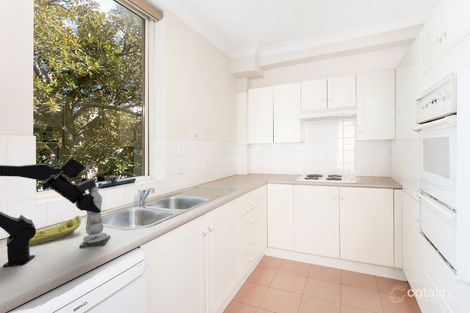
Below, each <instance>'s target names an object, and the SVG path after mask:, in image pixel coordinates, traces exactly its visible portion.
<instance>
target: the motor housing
mask: <svg viewBox="0 0 470 313" xmlns="http://www.w3.org/2000/svg"><path fill="white" fill-rule="evenodd" d="M110 238H111V235H110V234H107V233H106V232H101V233H99V234H95V235H88V234H87V235H86V236H84V237H83V240H82V242H81V243H80V244H79V249H83V248H92V247H102V246H105V245H106V244H107V242H108V241H109V239H110Z"/></svg>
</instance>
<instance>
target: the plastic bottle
mask: <svg viewBox="0 0 470 313" xmlns="http://www.w3.org/2000/svg"><path fill="white" fill-rule="evenodd" d="M87 191H88V193H87V194H90V195H92V196H93V197H94V199H93V203H94V204H95V205H96V206H97V207H98V208H99V210H100V211H101V212H100V213H95V212H90V211H86V224H85V232H86V234H87V236H88V235H95V234H99V233H103V231H104V223H103V218H102V203H103V197H102V194H100V193H99V186H97V185H96V186H95V187H92V188H90V189H88V190H87Z"/></svg>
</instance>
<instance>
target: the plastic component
mask: <svg viewBox="0 0 470 313" xmlns="http://www.w3.org/2000/svg"><path fill="white" fill-rule="evenodd" d="M81 219H82V218H80V215H77V216H75V218H73V219H69V220H66V221H63V222H62V223H60V225H57V226H56V225H55V226H52V227H48V228H44V229H41V230H36V234H35V236H34V237H33V238H32V239H30V241H29V246H35V245H39V244H43V243H47V242H49V241H53V240H57V239H60V238H63V236H64V235H70V234H74V233H75V231H76V230H78V228H79V227H80V226H81V223H82V220H81Z"/></svg>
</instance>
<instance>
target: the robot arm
mask: <svg viewBox="0 0 470 313" xmlns="http://www.w3.org/2000/svg"><path fill="white" fill-rule="evenodd" d="M86 169H87V168H86V166H84V165H83V164H82V163H81V162H78V161H77V160H75V159H74V158H73V157H69V159H67V161H66V162H65V163H64V164H63V165H62V166H60V167H59V166H55V167H54V166H50V165H48V164H45V163H35V164H24V165H9V164H8V165H5V164H4V165H3V164H0V177H19V178H24V179H25V178H26V179H30V180H36V181H44V182H41V183H40V184H41V185H42V186H41V188H42V191H46V190H47V189H48V188H50V189H52V190H53V191H54V192H56V194H59V195H60V196H62V198H64V199H66V200H68V201H69V202H70V203H71V204H73V205H75V207H76V208H77V209H78V210H80V211H85V212H87V211H90V212H95V213H100V212H101V213H102V210H101V211H100V210H99V208H98V207H97V206H96V205H95V204H94V203H93V199H94V197H93V196H92V195H90V194H88V193H87V191H88V189H90V188H92V187H95V186H97V184H96V182H95V180H94V178H92V177H89V178H86V177H83V178H80V182H79V183H77V184H75V183H74V182H73V183H72V181H70V180H71V179H76V178H78V176H80V175H81V174H82V173H83V172H84V171H85V170H86ZM53 176H55V177H53ZM66 177H67V178H68V179H67V178H66ZM0 228H1V229H2V230H3V231H4V232H6V233H7V234H8V235H9V236H7V237H6V253H7V262H6V263H4V264H2V267H3V268H4V267H5V268H6V267H14V266H21V265H26V264H28V263H29V261H31V260H32V259H33V258H35V257H36V255H35V254H33V255H31V252H30V250H31V249H30V245H29V241H30V239H32V238H33V237H34V236H35V234H36V232H37V229H36V225H35V223H34V222H33V219H29V218H27V217H25V216H24V215H23V214H20V215H19V217H15V216H14V217H13V216H10V215H9V214H6V213H4V212H2V211H0Z"/></svg>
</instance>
